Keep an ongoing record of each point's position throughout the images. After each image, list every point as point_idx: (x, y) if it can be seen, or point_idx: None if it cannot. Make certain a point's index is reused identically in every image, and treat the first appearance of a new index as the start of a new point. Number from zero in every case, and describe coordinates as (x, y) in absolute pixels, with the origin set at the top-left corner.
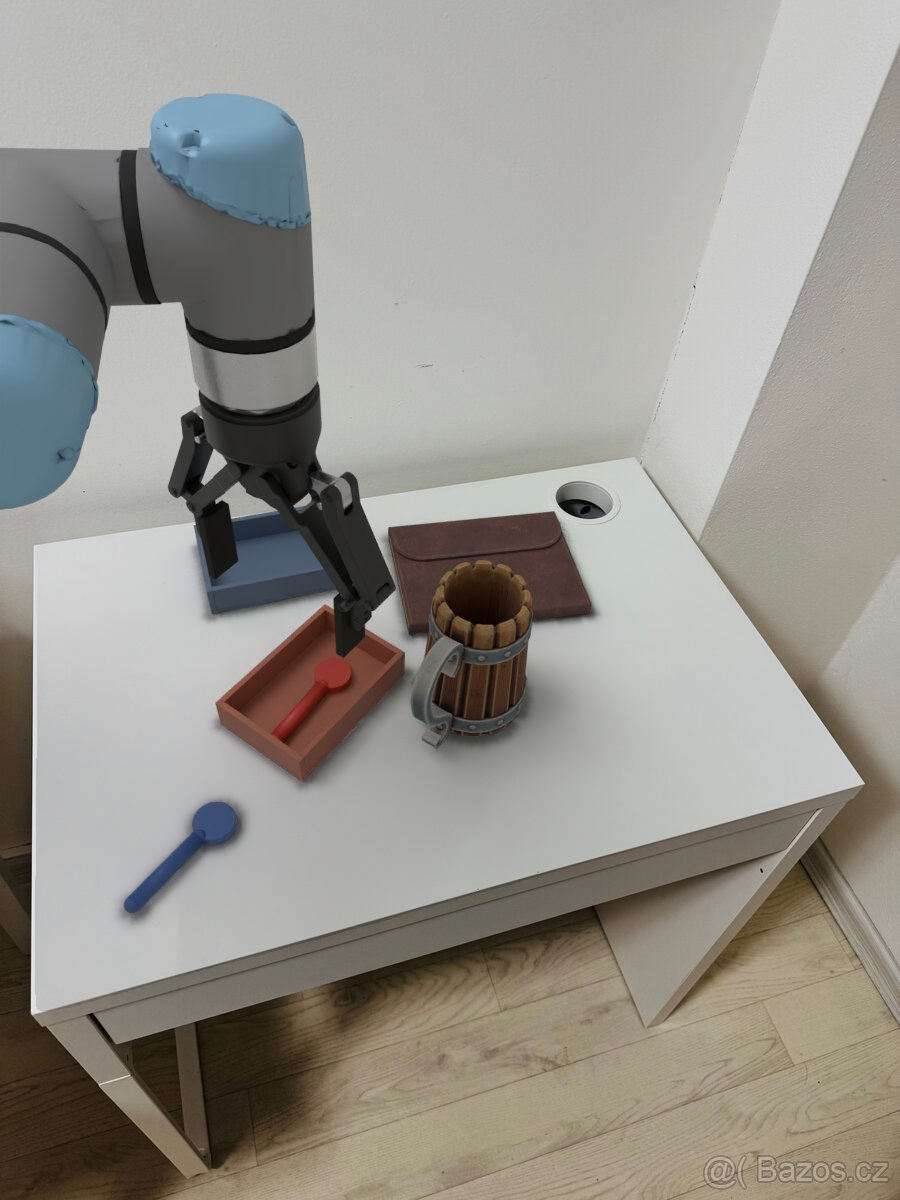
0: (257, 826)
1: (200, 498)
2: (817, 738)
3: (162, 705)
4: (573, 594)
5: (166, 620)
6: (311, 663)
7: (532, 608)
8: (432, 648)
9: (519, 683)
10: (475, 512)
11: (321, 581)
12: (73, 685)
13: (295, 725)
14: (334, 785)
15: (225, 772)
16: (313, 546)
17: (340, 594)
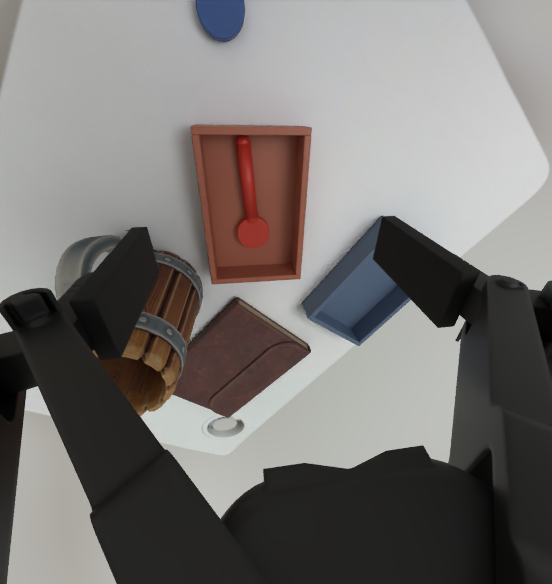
0: (187, 44)
1: (514, 315)
2: None
3: (363, 104)
4: None
5: (413, 185)
6: (278, 230)
7: None
8: None
9: None
10: (273, 387)
11: (321, 292)
12: (456, 60)
13: (239, 167)
14: (170, 142)
15: (260, 80)
16: (100, 415)
17: (65, 317)
